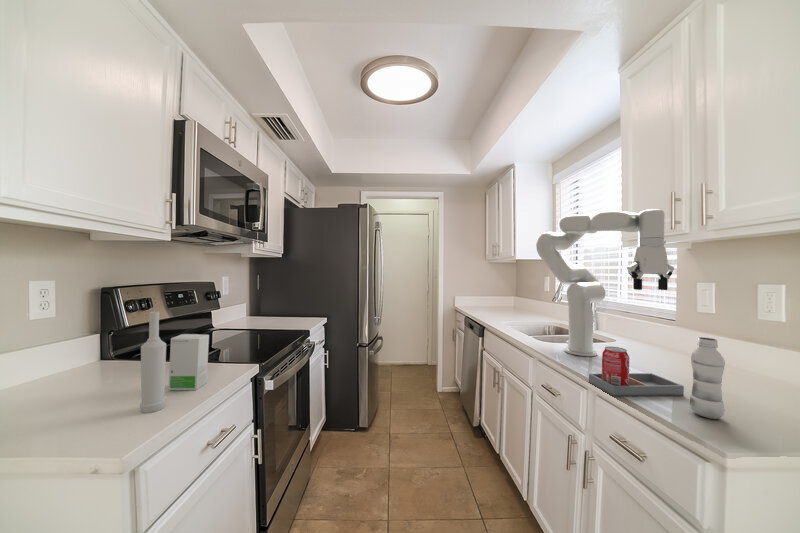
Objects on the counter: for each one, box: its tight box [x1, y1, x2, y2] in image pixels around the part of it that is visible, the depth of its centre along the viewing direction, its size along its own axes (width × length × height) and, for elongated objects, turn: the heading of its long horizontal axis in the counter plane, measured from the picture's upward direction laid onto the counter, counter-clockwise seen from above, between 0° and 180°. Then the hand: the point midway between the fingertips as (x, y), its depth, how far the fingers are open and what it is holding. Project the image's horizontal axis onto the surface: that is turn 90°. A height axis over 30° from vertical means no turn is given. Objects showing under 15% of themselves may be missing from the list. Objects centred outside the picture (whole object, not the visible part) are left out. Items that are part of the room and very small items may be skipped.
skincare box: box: [167, 333, 210, 391], centre depth 96 cm, size 8×7×16 cm
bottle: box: [139, 311, 167, 414], centre depth 81 cm, size 5×5×25 cm
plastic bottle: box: [689, 336, 726, 420], centre depth 80 cm, size 6×7×20 cm
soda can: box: [601, 345, 630, 386], centre depth 98 cm, size 7×7×12 cm
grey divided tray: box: [588, 372, 685, 398], centre depth 98 cm, size 11×22×3 cm, turn 93°
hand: (650, 289), depth 115 cm, fingers open, 9 cm apart
